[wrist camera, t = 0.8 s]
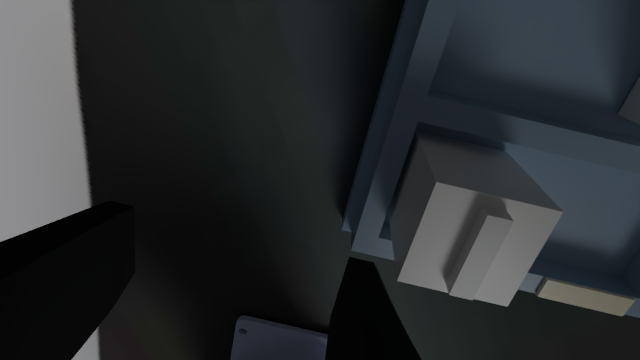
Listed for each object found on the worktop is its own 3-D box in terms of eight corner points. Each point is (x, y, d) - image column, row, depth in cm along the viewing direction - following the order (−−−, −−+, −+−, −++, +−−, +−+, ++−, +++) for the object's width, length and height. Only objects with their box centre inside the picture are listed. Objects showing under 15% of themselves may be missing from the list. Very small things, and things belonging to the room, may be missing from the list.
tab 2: (470, 228, 18) (513, 319, 13) (387, 209, 18) (398, 292, 13) (506, 151, 16) (573, 222, 11) (415, 130, 16) (440, 191, 11)
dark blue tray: (700, 302, 20) (747, 345, 17) (342, 219, 20) (340, 250, 17) (957, 16, 14) (1087, 21, 11) (436, -111, 13) (453, -134, 11)
